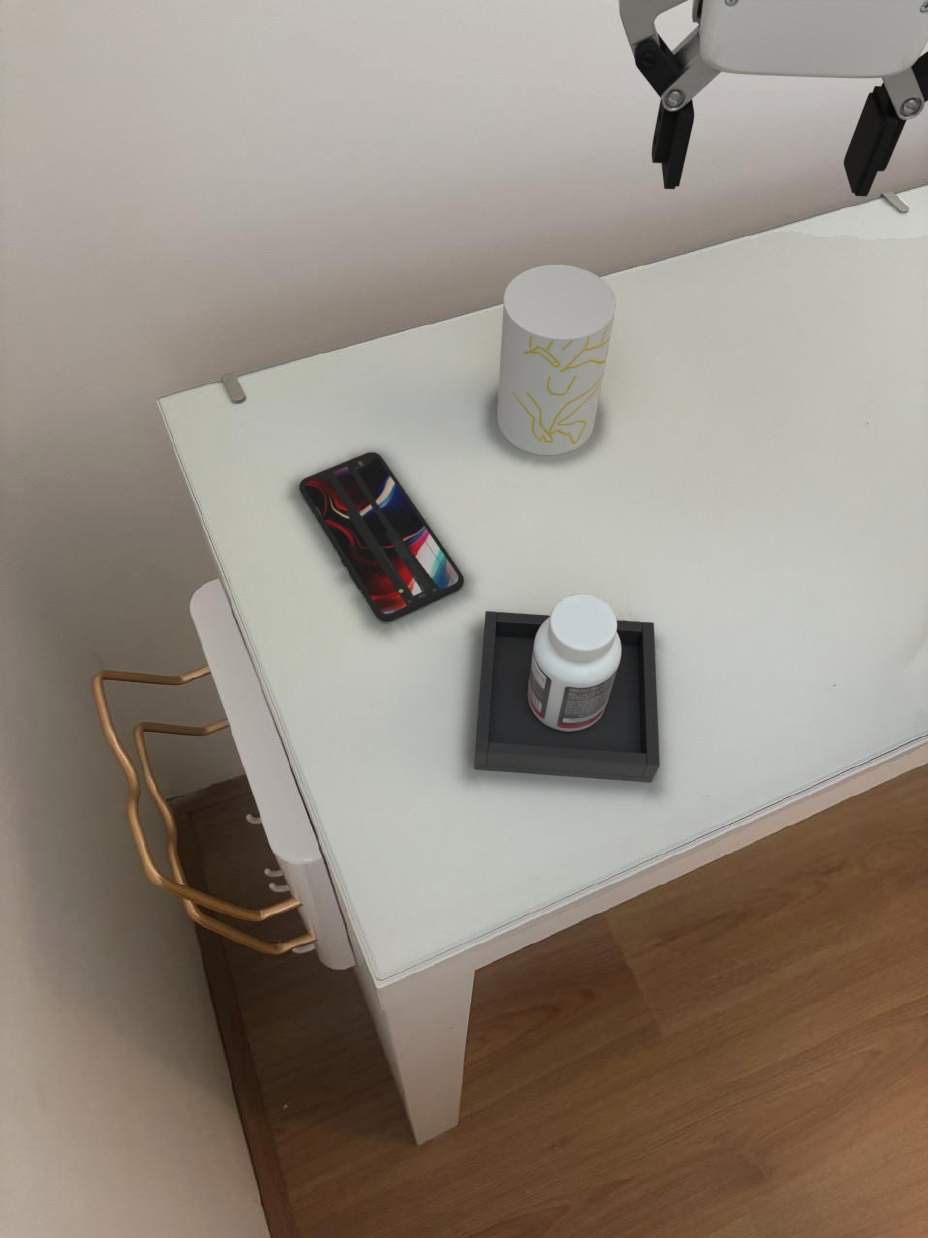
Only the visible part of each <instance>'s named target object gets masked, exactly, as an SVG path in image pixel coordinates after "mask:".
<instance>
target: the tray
mask: <svg viewBox="0 0 928 1238" xmlns="http://www.w3.org/2000/svg"><path fill="white" fill-rule="evenodd" d="M550 616H551V614H550V615H548V614H534V613H522V612H521V613H519V612H504V611H490V610H486V611H485V613H484V626H483V627H484V628H483V641H482V652H481V666H480V680H479V694H478V705H477V721H476V733H475V747H474V764H473V769H474V770H480V771H494V772H505V773H506V772H507V773H520V774H533V775H545V776H546V775H547V776H558V777H559V776H560V777H572V778H573V777H574V778H586V779H600V780H615V781H627V782H639V783H640V782H641V783H653V780H654V778H655V776H656V774H657V772H658V770H659V769H660V765H661V763H660V741H659V740H660V738H659V716H658V715H659V714H658V689H657V666H656V641H655V639H656V638H655V623H654V622H650V621H649V622H648V621H636V620H635V621H634V620H623V619H622V620H619V619H616V620H617V630H616V631H617V633H618V636H619V638H620V642H621V659H620V663H619V666H618V669H617V672H616V675H615V679H614V682H613V686H612V689H611V692H610V695H609V699H608V702H607V704H606V707H605V710H604V712H603V714H602V716H601V717H600V718H599V719H598V721H597V722H595V723H594V724H593V725H591V726H590V727H588V728H585V729H583V730H579V731H571V732H566V731H560V730H556V729H553V728H551V727H549V726H547V725H545V724H544V723H542V722H541V721H540V720H539V719H538V718H537V717H536V716H535V714H534V713H533V711H532V709H531V707H530V705H529V701H528V683H529V677H530V669H531V663H532V655H533V648H534V641H535V637H536V634H537V632H538V630H539V628H540V626H541V625H542V624H543V622H544V621H545V620H546V619H548V618H549V617H550Z"/></svg>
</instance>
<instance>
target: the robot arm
mask: <svg viewBox="0 0 928 1238" xmlns="http://www.w3.org/2000/svg"><path fill="white" fill-rule="evenodd" d="M688 1H689V0H618V10H619V11H618V12H619V16H620V17H619V18H620V21H621V23H622V26H623V30H624V31H625V32H624V33H625V36H626V38H627V41H628V45H629V47H630V49H631V53H632V55H633V59H634V65H635V66H636V68H637V69H638V71H639V72H640V74H641V75H642V76H643V78H644V79H645V80H646V81H647V83H648V84H649V86H651V88H652V89H653V90H654V91H655V93H656V94H657V96H658V97H659V98H660V101H659V106H658V111H657V116H656V122H655V128H654V132H653V137H652V145H651V162H652V164H661V172H662V180H663V188H664V190H676V188H677V187H679V188H680V185H681V181H682V180H681V179H682V177H683V172H684V167H685V163H686V157H687V153H688V149H689V144H690V139H691V136H692V131H693V127H694V121H695V108H694V102H693V99H694V98H695V97H697V95H698V94H699V93H700V92H702V90H703V89H705V88H706V87H707V86H708V85H709V84H710V83H711V82H713V80H714V79H715V78H716V77H718V76H719V75H720V74H721V73H725V74H732V75H733V74H735V75H746V76H747V75H748V76H749V75H750V76H770V77H771V76H774V77H794V78H795V77H798V78H829V79H831V78H832V79H881V80H882V83H881V85H874V87H873V89H872V92H871V91H870V92H869V93H868V95H867V97H866V100H865V102H864V104H863V107H862V110H861V113H860V115H859V118H858V121H857V124H856V126H855V129H854V131H853V134H852V136H851V139H850V142H849V144H848V147H847V150H846V153H845V155H844V157H843V168H844V170H845V174H846V177H847V181H848V184H849V187H850V191H851V193H852V194H854V196H855V197H868V195H869V193H870V191H871V189H872V186H873V184H874V182H875V179H876V177H877V174H878V172H885V170H886V169H887V168H888V166H889V164H890V160H891V158H892V155H894V154H893V153H894V151H895V149H896V147H897V145H898V142H899V139H900V137H901V135H902V133H903V130H904V127H905V125H906V123H907V121H908V120H912V119H914V118H916V117H918V116H919V115H920V114H921V113H922V111H924V107H925V103H926V102H928V50H927V51H926V52H924V53H923V51H924V49H925V47H926V45H927V43H928V0H692V8H691V19H692V23H696V24H698V25H697V26H696V27H695V28H694V29H693V30H692V31H691V32H690V33H689V34H687V36H685V38H684V39H683V40H682V41H680V42H679V43H678V45H676V47H675V48H673V50H671V48H669V46H668V44H667V43H666V42H665V40H663V38H662V36H661V35H660V34H659V33H658V31H657V28H656V24H655V21H656V19H657V18H658V16H660V15H661V14H663V13H665V12H667V11H669V10H672V9H673V8H675V7H677V6H679V5H682V4H683V3H685V2H686V3H687V2H688ZM922 53H923V54H922Z"/></svg>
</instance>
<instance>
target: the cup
mask: <svg viewBox="0 0 928 1238" xmlns="http://www.w3.org/2000/svg"><path fill="white" fill-rule="evenodd" d="M503 294H504V295H503V305H502V307H503V308H502V310H503V311H502V325H501V340H500V342H501V343H500V346H501V347H500V360H499V376H498V377H499V378H498V393H497V394H498V395H497V398H498V399H497V411H496V412H497V414H496V421H497V422H496V423H497V426H498V428H499V431H500V432H501V434H502V435H503V437H504V438H505V440H507V441H508V443H510V444H511V445H513V446H514V447H516V448H518V449H519V450H522V451H523V452H526V453H530V454H533V455H538V456H558V455H559V456H560V455H563V454H567V453H570V452H572V451H574V450H577V449H579V448H580V447H581V446H583V445H584V444H585V443H586V442H587V441H588V440H589V438H590V437H591V436H592V433H593V432H594V428H595V423H596V416H597V412H598V408H599V407H598V406H599V400H600V396H601V390H602V385H603V380H604V373H605V368H606V362H607V357H608V351H609V347H610V341H611V335H612V331H613V326H614V325H613V324H614V319H615V313H616V308H617V301H616V296H615V294H614V292H613V290H612V288H611V287H610V285H608V283H606V281H605V280H603V279H602V278H601V277H600V276H598V275H596V274H595V273H593V272H592V271H589V270H588V269H587V270H586V269H584V268H581V267H578V266H573V265H567V264H545V265H539V266H536V267H532V268H529V269H527V270H525V271H523V272H521V273H520V274H517V275H516V276H514V278H513V279H512V280H511V281H510V282H509V283H508V285H507V286H506V288H505V291H504V293H503Z"/></svg>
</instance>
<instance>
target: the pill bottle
mask: <svg viewBox="0 0 928 1238" xmlns="http://www.w3.org/2000/svg"><path fill="white" fill-rule="evenodd" d="M617 620H618V619H617V616H616V614H615V612H614V610H613V608H612V607H611V606H610V605H609V604H608V603H607V602H606V601H604V599H601V598H599V597H598V596H595V595H591V594H586V593H584V594H583V593H577V594H572V595H568V596H566V597H564V598H562V599H560V601H558V602H557V603H556V604H555V606H554V607H553V608H552V610H551V612H550V617H549V618H548V619H546V620H545V621H544V622H543V624H542V625H541V626H540V628H539V630H538V632H537V634H536V637H535V641H534V648H533V655H532V663H531V669H530V677H529V683H528V701H529V705H530V707H531V709H532V711H533V713H534V714H535V716H536V717H537V718H538V719H539V720H540V721H541V722H542V723H544V724H545V725H547V726H549V727H551V728H553V729H556V730H560V731H566V732H571V731H579V730H583V729H585V728H588V727H590V726H591V725H593V724H594V723H595V722H597V721H598V719H599V718H600V717H601V716H602V714H603V712H604V710H605V707H606V704H607V702H608V699H609V695H610V692H611V689H612V686H613V682H614V679H615V675H616V672H617V669H618V666H619V663H620V659H621V642H620V638H619V636H618V633H617V631H616V630H617Z"/></svg>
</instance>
